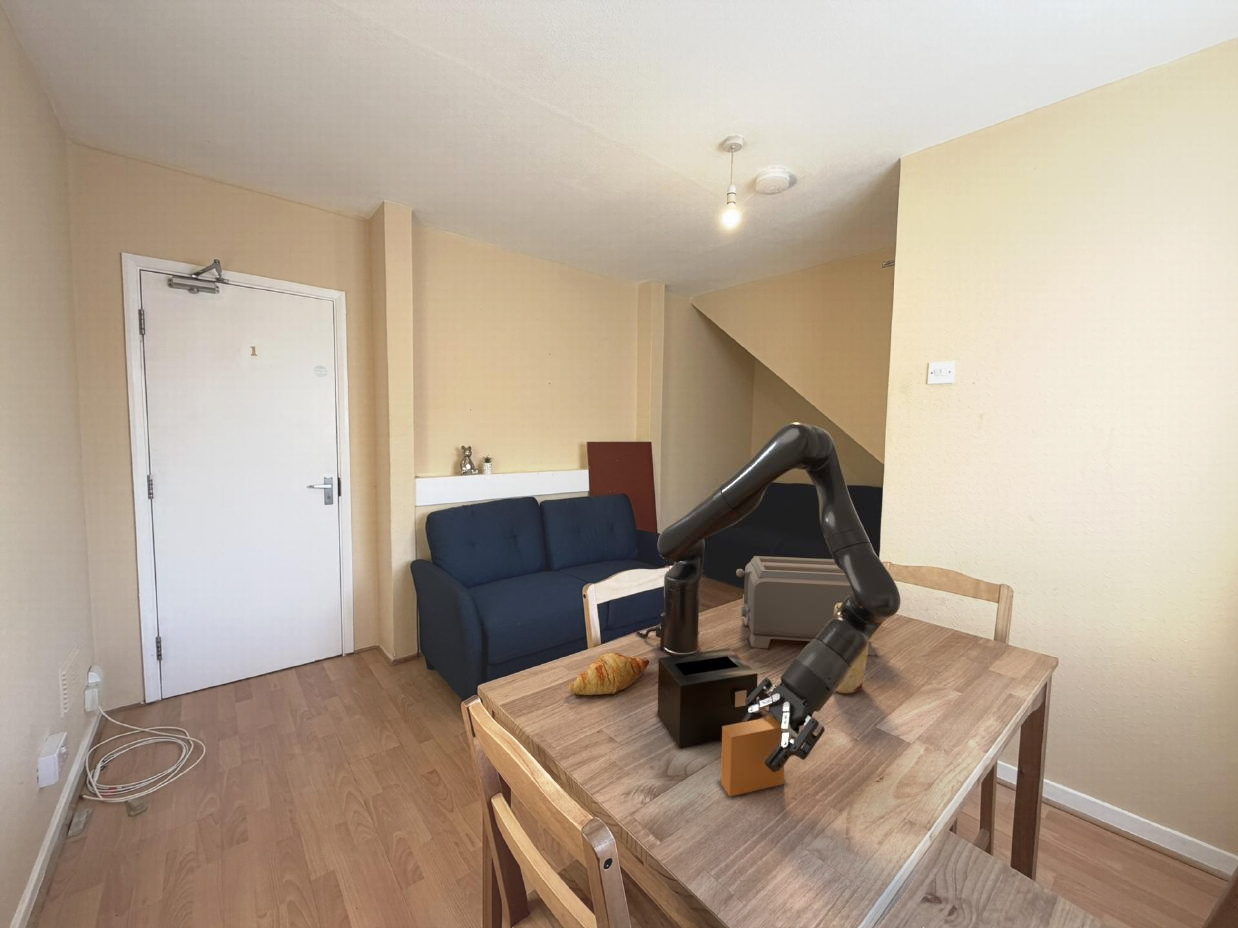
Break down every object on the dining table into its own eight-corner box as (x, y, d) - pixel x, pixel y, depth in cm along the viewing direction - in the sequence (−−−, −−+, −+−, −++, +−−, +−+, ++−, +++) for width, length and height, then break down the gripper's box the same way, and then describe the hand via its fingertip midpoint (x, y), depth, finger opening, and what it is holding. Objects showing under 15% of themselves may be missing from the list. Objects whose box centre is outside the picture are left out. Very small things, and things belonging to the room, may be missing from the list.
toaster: (731, 618, 149) (733, 553, 148) (851, 625, 144) (854, 558, 143) (737, 646, 130) (739, 571, 129) (876, 655, 125) (880, 578, 124)
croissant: (576, 718, 103) (584, 695, 99) (556, 679, 110) (563, 656, 106) (654, 686, 115) (664, 664, 111) (631, 653, 122) (640, 631, 118)
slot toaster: (657, 714, 99) (658, 657, 98) (727, 701, 104) (728, 647, 103) (681, 751, 88) (682, 687, 87) (758, 735, 93) (760, 675, 92)
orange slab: (720, 783, 80) (722, 725, 79) (773, 771, 83) (774, 715, 82) (729, 796, 77) (731, 737, 76) (783, 783, 80) (785, 726, 79)
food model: (846, 701, 104) (851, 611, 103) (820, 687, 110) (823, 601, 108) (873, 689, 109) (878, 603, 108) (846, 676, 115) (850, 594, 113)
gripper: (776, 642, 88) (718, 713, 85) (832, 682, 74) (765, 767, 72) (800, 666, 90) (744, 736, 87) (859, 709, 76) (794, 793, 74)
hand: (754, 750), depth 80 cm, fingers open, 8 cm apart
